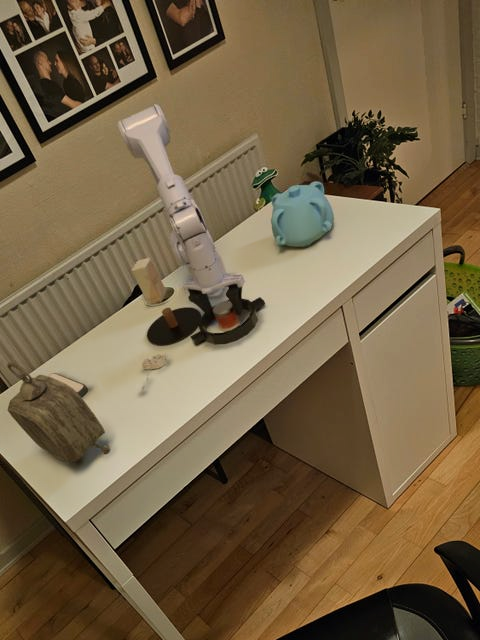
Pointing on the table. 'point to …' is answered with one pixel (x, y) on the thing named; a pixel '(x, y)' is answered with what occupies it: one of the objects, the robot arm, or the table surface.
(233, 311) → the can
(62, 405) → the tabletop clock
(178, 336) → the pan lid
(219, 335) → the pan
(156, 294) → the box
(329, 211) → the decorative pot
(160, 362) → the game controller
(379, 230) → the table surface
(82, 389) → the phone case
